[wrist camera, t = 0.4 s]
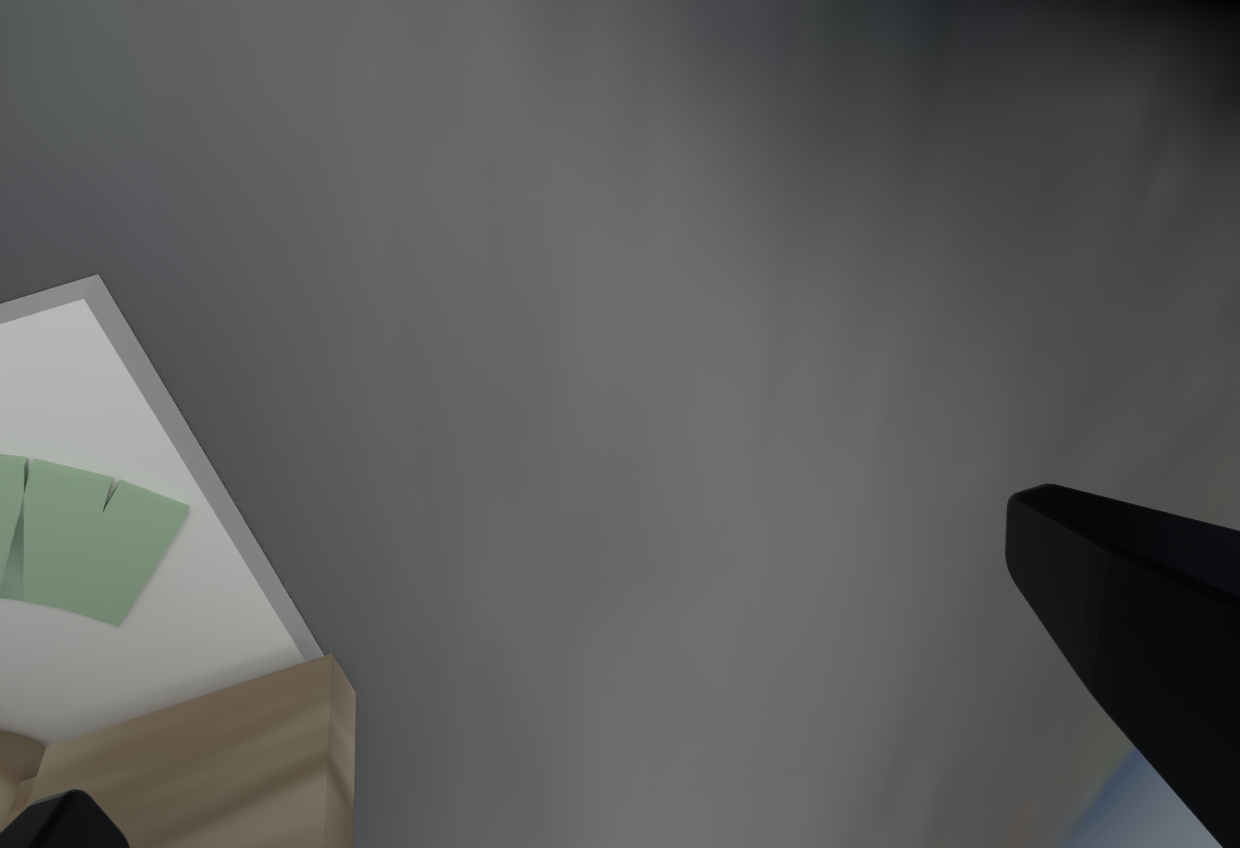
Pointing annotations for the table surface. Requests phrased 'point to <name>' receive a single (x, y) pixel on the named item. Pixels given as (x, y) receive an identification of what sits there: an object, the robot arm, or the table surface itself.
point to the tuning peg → (212, 766)
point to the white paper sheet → (116, 534)
